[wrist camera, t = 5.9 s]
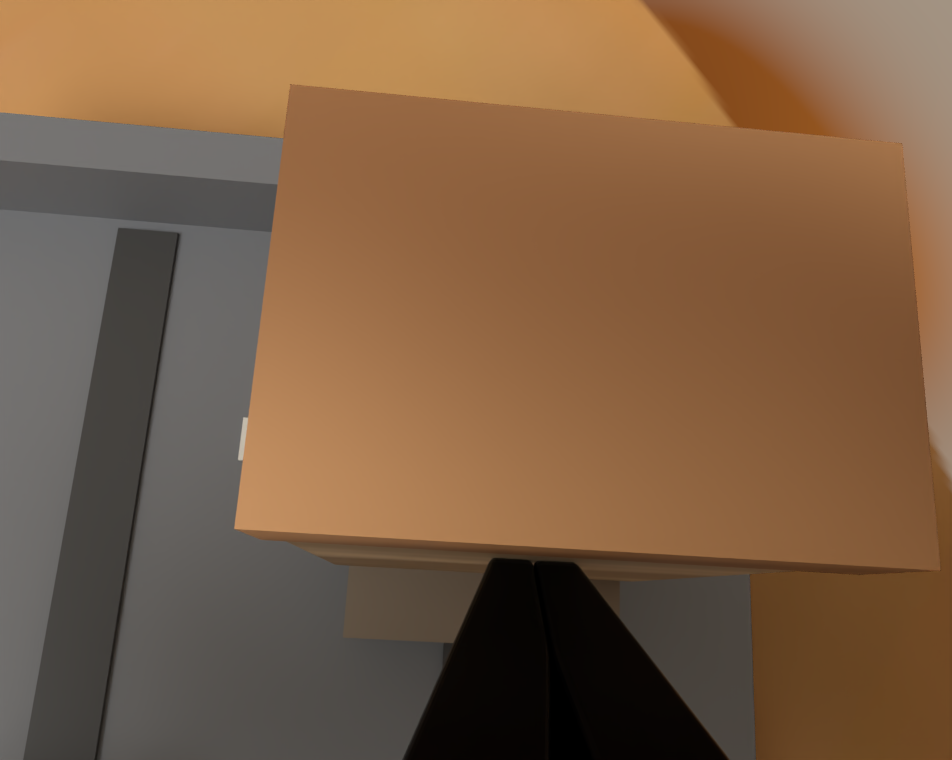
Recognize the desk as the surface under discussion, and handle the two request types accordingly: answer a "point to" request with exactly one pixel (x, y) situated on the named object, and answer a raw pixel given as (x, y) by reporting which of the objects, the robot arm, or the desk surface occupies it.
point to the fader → (581, 353)
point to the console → (200, 485)
